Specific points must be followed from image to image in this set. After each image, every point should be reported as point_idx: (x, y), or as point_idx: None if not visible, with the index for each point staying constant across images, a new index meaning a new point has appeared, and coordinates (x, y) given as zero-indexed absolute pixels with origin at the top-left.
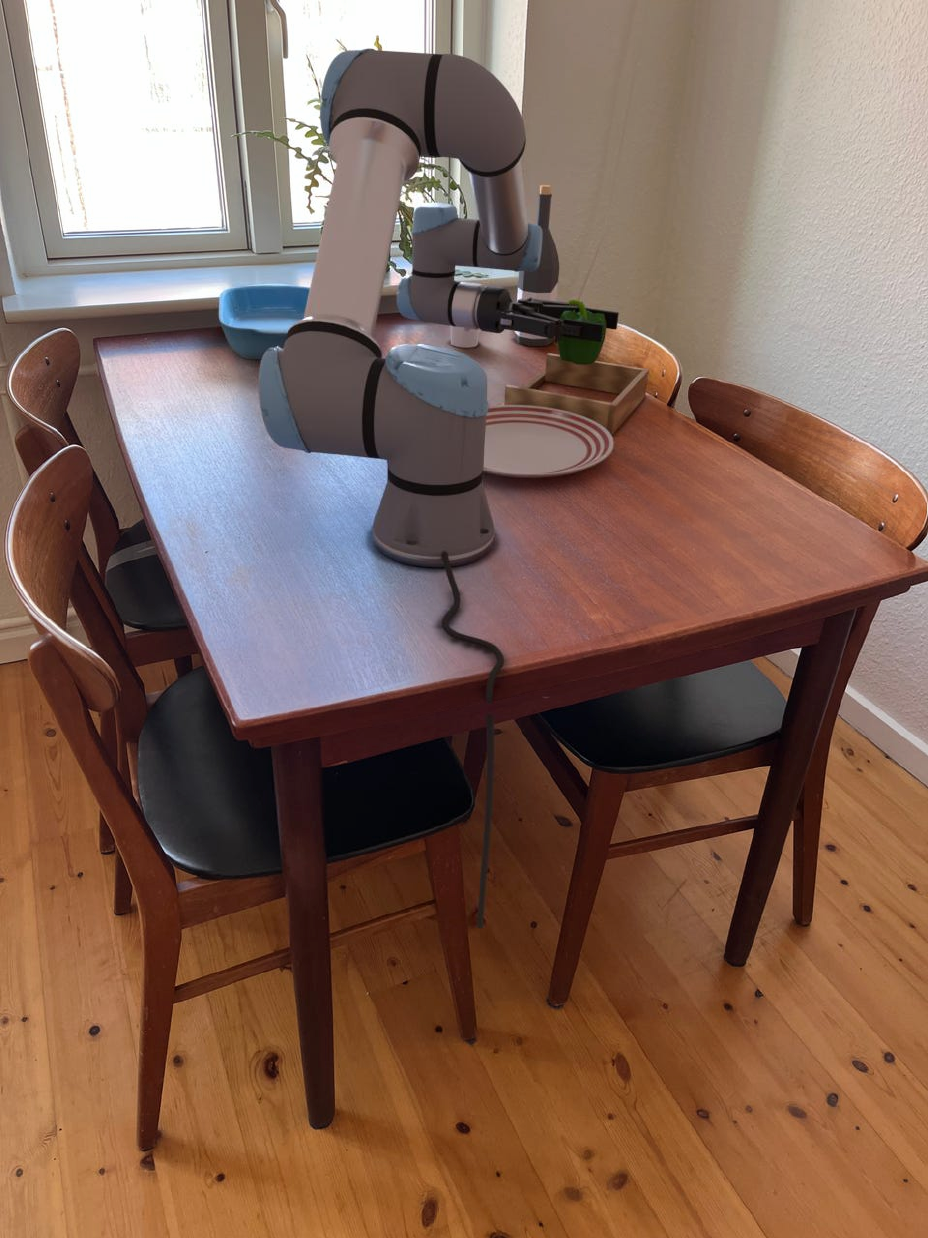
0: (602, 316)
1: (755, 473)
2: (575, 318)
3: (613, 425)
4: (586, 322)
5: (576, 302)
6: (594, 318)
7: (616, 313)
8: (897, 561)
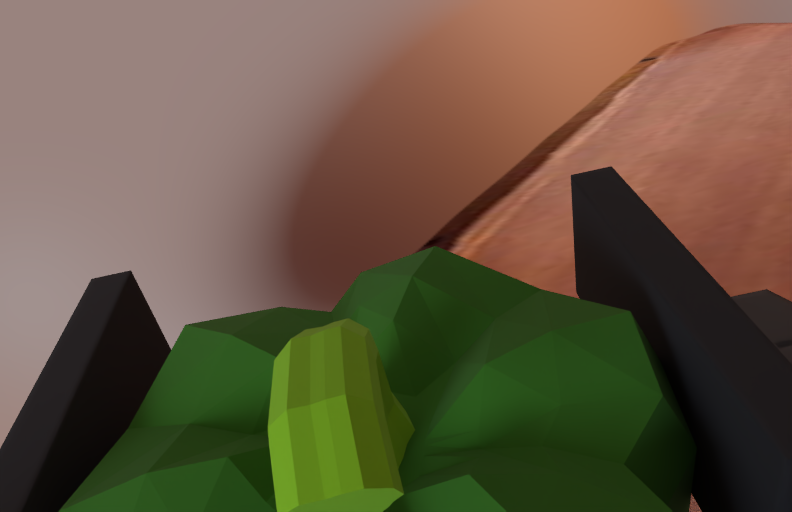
0: (252, 318)
1: (600, 166)
2: (511, 462)
3: None
4: (665, 249)
5: (368, 366)
6: (435, 287)
7: (131, 278)
8: (729, 32)
